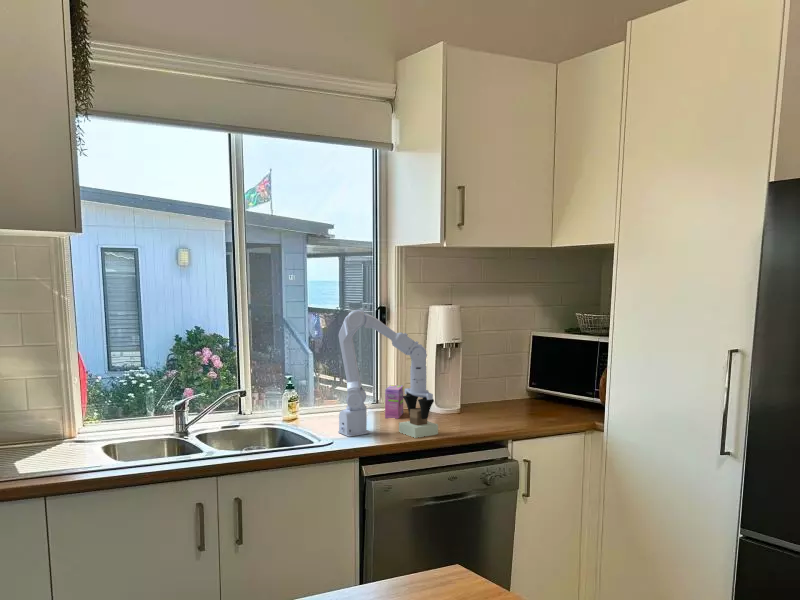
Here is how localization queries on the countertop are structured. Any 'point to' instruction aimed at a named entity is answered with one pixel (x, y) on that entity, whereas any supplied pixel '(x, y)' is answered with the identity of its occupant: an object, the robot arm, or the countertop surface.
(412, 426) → the base block
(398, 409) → the box
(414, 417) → the walnut block
